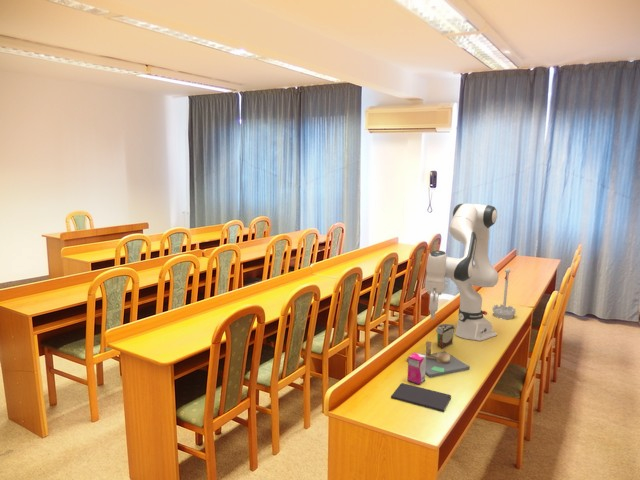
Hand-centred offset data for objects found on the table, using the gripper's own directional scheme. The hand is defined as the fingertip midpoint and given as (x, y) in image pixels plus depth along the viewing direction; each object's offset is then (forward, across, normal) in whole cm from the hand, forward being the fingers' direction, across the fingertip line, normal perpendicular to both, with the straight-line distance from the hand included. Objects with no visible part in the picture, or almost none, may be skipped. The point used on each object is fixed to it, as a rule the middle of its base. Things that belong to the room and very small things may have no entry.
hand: (432, 315), depth 221 cm
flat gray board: (+23, 0, -4) cm, 24 cm away
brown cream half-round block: (+22, +25, -6) cm, 34 cm away
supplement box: (+25, -18, +5) cm, 31 cm away
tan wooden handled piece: (+22, +2, -2) cm, 22 cm away
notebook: (+26, -33, +2) cm, 42 cm away
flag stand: (+19, +80, -42) cm, 93 cm away
